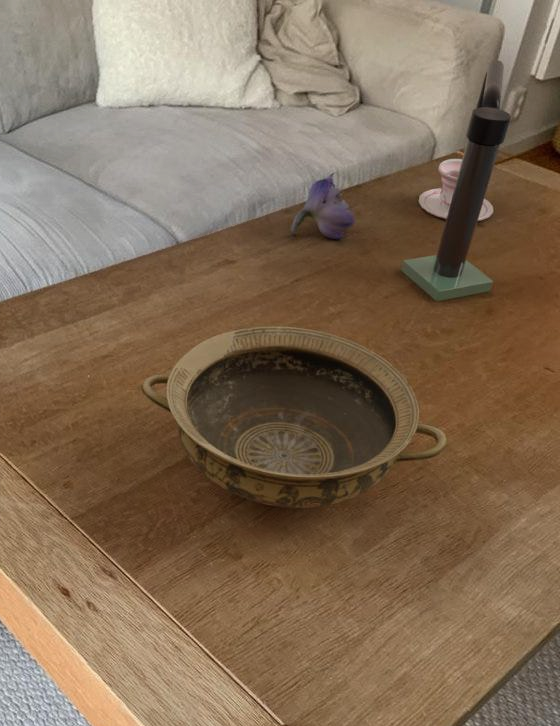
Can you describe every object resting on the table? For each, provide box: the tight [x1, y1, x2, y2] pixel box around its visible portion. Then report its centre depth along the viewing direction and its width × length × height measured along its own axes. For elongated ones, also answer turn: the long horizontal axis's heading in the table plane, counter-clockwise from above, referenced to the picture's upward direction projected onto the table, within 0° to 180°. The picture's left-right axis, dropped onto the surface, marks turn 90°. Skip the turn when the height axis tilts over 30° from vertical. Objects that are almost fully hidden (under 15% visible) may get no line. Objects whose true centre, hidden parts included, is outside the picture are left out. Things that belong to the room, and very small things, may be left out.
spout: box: [465, 59, 512, 145], centre depth 112 cm, size 29×5×11 cm, turn 163°
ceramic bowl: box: [141, 325, 448, 509], centre depth 81 cm, size 30×24×10 cm
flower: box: [290, 172, 355, 241], centre depth 122 cm, size 9×9×10 cm
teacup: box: [418, 158, 494, 222], centre depth 132 cm, size 12×12×6 cm
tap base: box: [400, 138, 501, 302], centre depth 109 cm, size 9×9×20 cm
